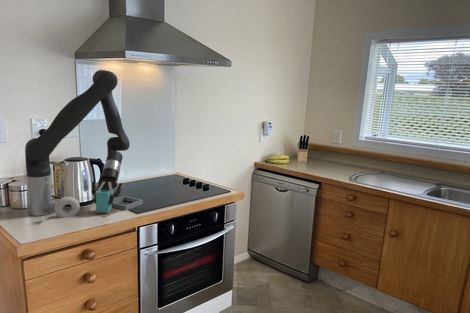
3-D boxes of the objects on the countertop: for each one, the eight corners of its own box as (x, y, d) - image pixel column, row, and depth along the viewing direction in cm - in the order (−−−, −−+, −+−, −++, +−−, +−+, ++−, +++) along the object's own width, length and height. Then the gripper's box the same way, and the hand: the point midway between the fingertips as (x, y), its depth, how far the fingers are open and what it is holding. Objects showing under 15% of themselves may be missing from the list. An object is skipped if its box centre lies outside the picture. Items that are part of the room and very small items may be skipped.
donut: (55, 222, 146) (54, 199, 145) (54, 219, 149) (53, 196, 148) (80, 218, 152) (80, 196, 150) (79, 216, 155) (78, 194, 153)
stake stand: (87, 216, 155) (87, 202, 154) (104, 210, 164) (104, 196, 163) (104, 220, 151) (104, 206, 150) (120, 214, 160) (120, 200, 159)
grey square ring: (106, 208, 166) (106, 201, 166) (124, 202, 177) (124, 195, 177) (125, 213, 161) (125, 206, 161) (142, 206, 172) (143, 199, 172)
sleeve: (96, 212, 155) (96, 192, 153) (100, 208, 160) (100, 189, 158) (108, 212, 155) (108, 193, 153) (111, 209, 160) (111, 190, 159)
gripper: (93, 166, 161) (83, 199, 151) (125, 168, 162) (117, 200, 152) (97, 175, 167) (88, 206, 158) (128, 176, 168) (120, 208, 158)
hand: (102, 203), depth 155 cm, fingers closed on sleeve, 5 cm apart
